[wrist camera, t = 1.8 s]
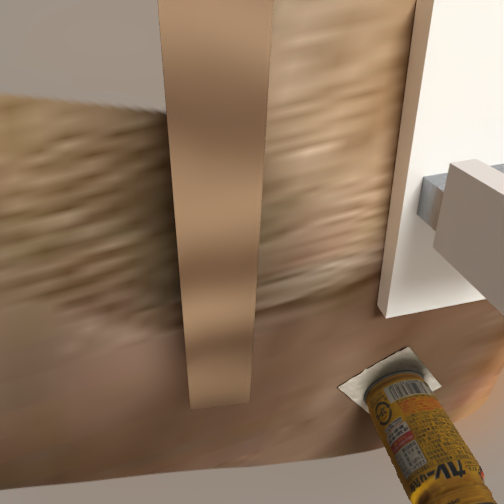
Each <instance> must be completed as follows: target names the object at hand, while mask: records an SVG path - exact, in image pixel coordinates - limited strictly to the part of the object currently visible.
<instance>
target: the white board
mask: <svg viewBox="0 0 504 504" xmlns="http://www.w3.org/2000/svg"><path fill="white" fill-rule="evenodd" d="M471 159H478V160H479V161H481V162H483V163H485V164H487V165H489V166H492V165H498V164H504V0H417V3H416V10H415V18H414V25H413V33H412V41H411V48H410V56H409V64H408V71H407V79H406V87H405V94H404V102H403V110H402V117H401V125H400V133H399V140H398V148H397V156H396V163H395V171H394V178H393V186H392V194H391V201H390V209H389V217H388V224H387V232H386V240H385V247H384V255H383V263H382V270H381V278H380V286H379V293H378V301H377V306H378V307H379V309H380V310H381V312H382V313H383V315H384V317H385V318H390V317H395V316H400V315H406V314H411V313H416V312H421V311H426V310H431V309H436V308H441V307H446V306H452V305H457V304H462V303H467V302H472V301H477V300H482V299H486V298H485V297H484V296H483V295H482V294H481V293H480V292H479V291H478V290H477V289H476V288H475V287H474V286H472V285H471V284H470V283H469V282H468V281H467V280H466V279H465V278H464V277H463V276H462V275H461V274H460V273H459V272H458V271H457V270H456V269H455V268H454V267H453V266H452V265H451V264H450V263H449V262H447V261H446V260H445V259H444V258H443V257H442V256H441V255H440V254H439V253H438V252H437V251H436V250H435V249H434V248H433V242H434V238H435V233H436V231H434V230H433V229H432V228H431V227H430V226H429V225H428V224H427V223H426V222H425V221H424V220H422V219H421V218H420V217H419V216H418V215H417V208H418V203H419V197H420V192H421V186H422V180H423V177H424V176H430V175H436V174H442V173H448V169H449V164H450V163H452V162H459V161H465V160H471Z"/></svg>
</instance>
